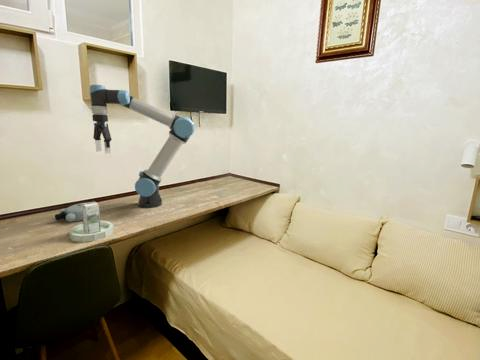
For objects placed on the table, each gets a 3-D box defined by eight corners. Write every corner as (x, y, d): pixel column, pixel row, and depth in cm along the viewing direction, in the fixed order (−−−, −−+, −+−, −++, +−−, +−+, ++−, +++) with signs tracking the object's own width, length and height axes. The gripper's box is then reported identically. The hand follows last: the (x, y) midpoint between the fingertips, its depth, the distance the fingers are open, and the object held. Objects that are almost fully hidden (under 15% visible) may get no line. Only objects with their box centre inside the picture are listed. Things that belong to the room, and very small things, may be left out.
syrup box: (96, 228, 127) (93, 200, 124) (101, 231, 124) (98, 203, 121) (84, 231, 123) (80, 203, 120) (88, 235, 119) (85, 206, 116)
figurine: (91, 209, 156) (53, 221, 142) (88, 197, 154) (49, 207, 139) (102, 216, 145) (62, 230, 131) (99, 203, 142) (58, 215, 128)
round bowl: (105, 223, 136) (104, 218, 136) (119, 233, 124) (119, 227, 124) (65, 233, 123) (65, 227, 122) (77, 245, 111) (76, 239, 110)
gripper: (84, 114, 146) (88, 150, 150) (101, 113, 129) (104, 154, 134) (98, 114, 151) (102, 150, 155) (116, 114, 135) (119, 153, 139)
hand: (103, 152), depth 145 cm, fingers open, 13 cm apart
